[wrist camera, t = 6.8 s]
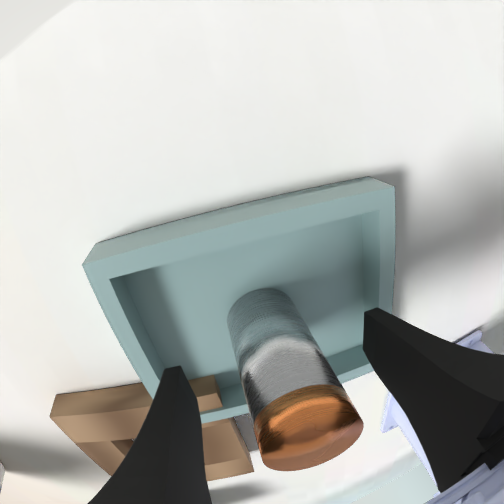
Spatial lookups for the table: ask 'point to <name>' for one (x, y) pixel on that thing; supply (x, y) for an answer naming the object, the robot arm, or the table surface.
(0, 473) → the bath foam
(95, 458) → the brown square frame
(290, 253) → the parts tray
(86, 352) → the table surface
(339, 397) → the silver copper-capped cylinder
